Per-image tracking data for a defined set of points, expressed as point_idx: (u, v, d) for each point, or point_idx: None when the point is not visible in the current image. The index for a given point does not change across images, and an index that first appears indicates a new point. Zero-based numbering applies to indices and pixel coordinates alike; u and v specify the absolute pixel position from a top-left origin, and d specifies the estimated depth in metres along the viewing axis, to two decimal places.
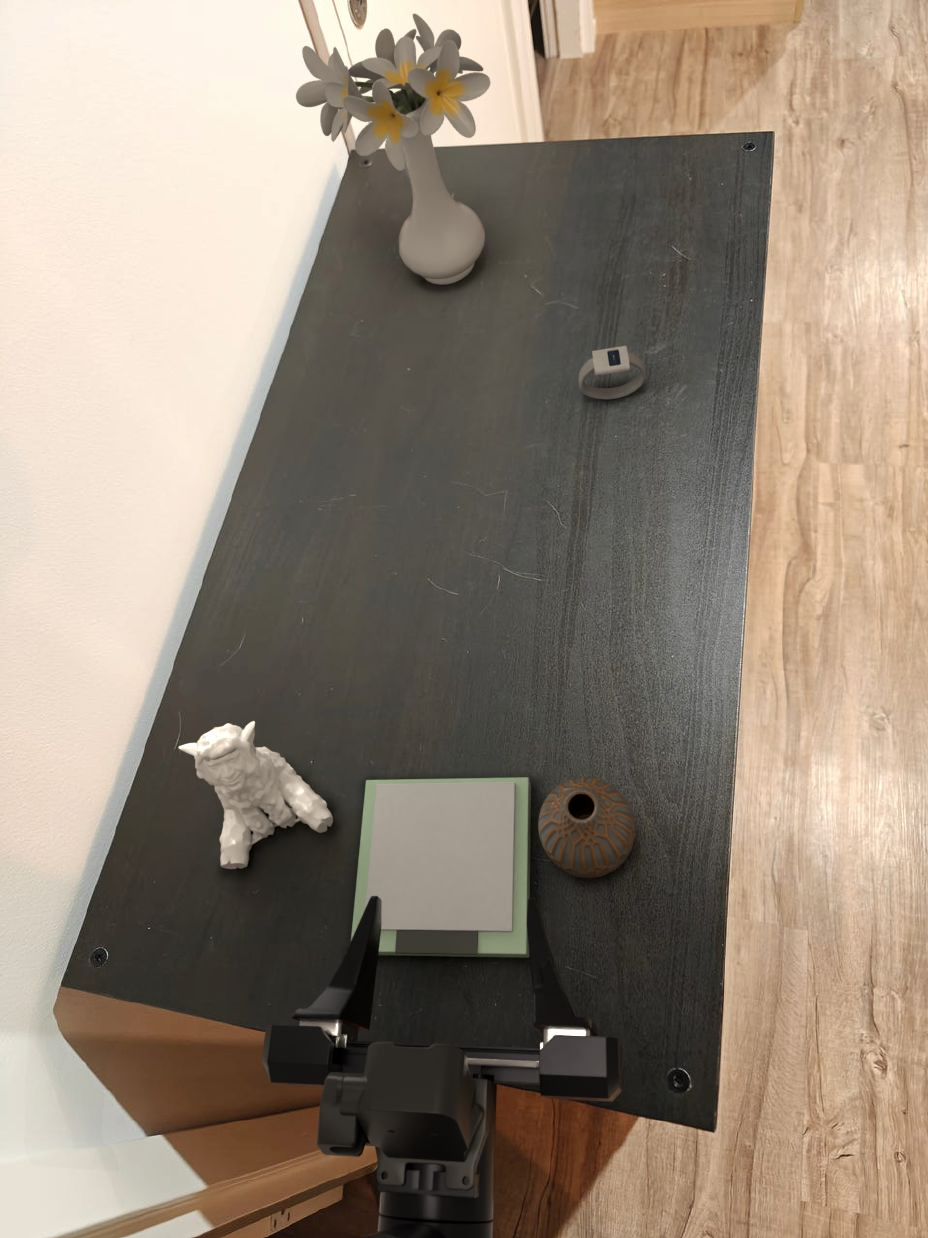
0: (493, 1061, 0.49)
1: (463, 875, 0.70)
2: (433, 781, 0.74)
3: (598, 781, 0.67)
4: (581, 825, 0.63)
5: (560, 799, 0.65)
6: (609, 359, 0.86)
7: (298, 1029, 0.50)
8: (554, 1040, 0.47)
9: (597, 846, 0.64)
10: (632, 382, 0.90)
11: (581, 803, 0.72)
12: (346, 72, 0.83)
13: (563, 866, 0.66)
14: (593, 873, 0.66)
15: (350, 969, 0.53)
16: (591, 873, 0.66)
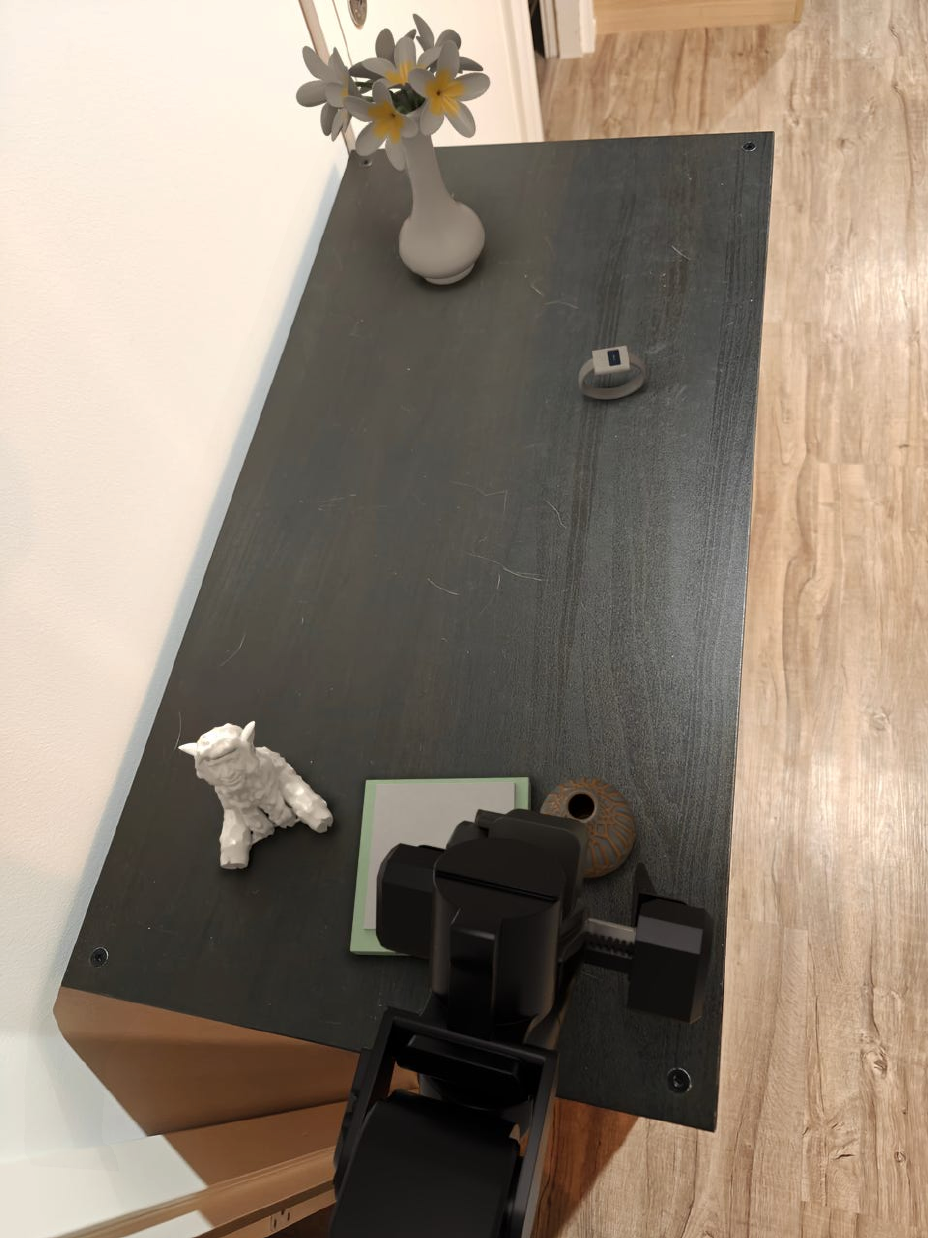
0: (591, 919, 0.52)
1: None
2: (433, 781, 0.74)
3: (598, 781, 0.67)
4: None
5: (560, 799, 0.65)
6: (609, 359, 0.86)
7: (422, 849, 0.55)
8: (657, 901, 0.51)
9: (597, 846, 0.64)
10: (632, 382, 0.90)
11: (581, 803, 0.72)
12: (346, 72, 0.83)
13: None
14: (593, 873, 0.66)
15: None
16: (591, 873, 0.66)
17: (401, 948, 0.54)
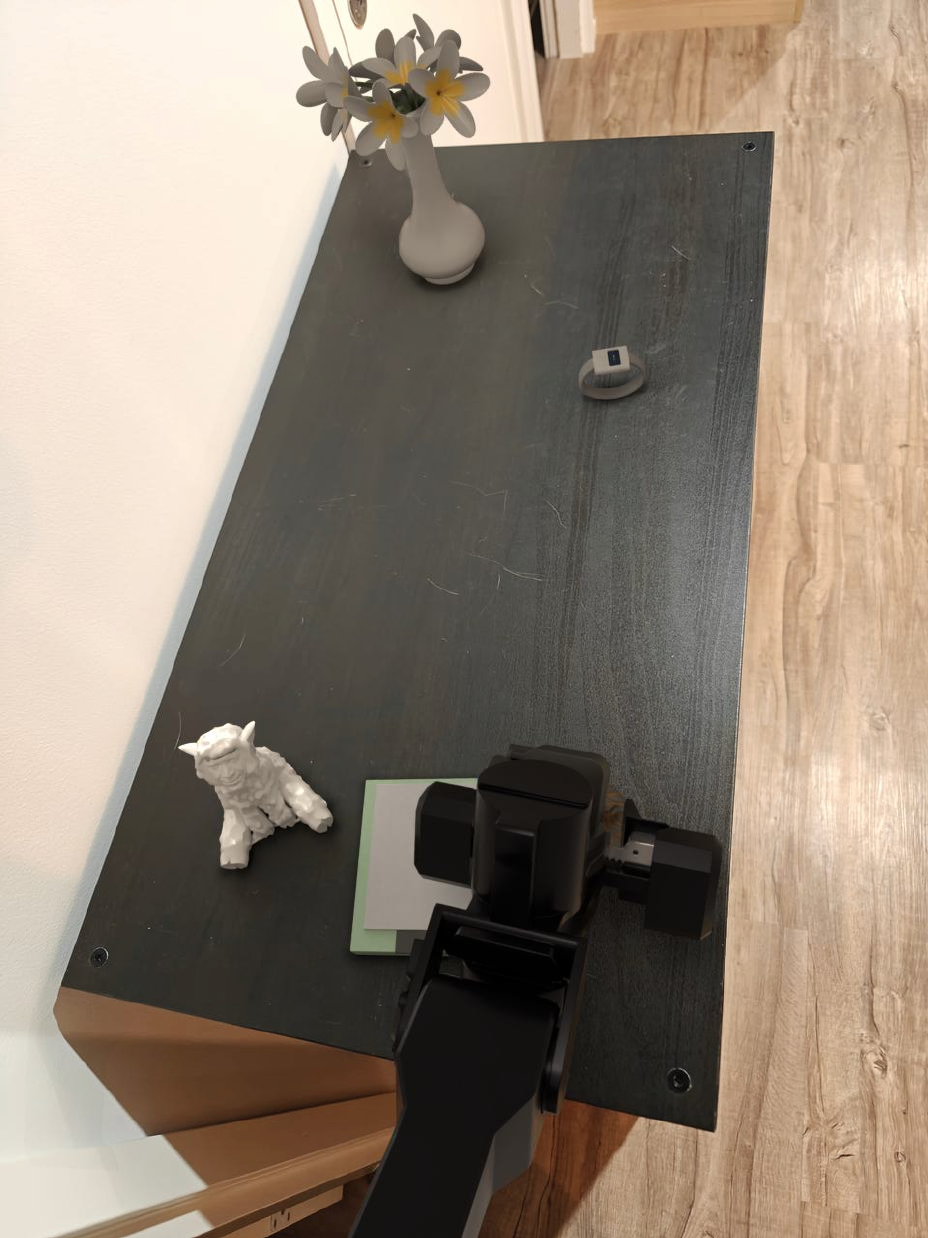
0: None
1: None
2: (433, 781, 0.74)
3: None
4: None
5: None
6: (609, 359, 0.86)
7: (456, 786, 0.60)
8: (671, 828, 0.56)
9: None
10: (632, 382, 0.90)
11: None
12: (346, 72, 0.83)
13: None
14: None
15: None
16: None
17: (437, 875, 0.60)
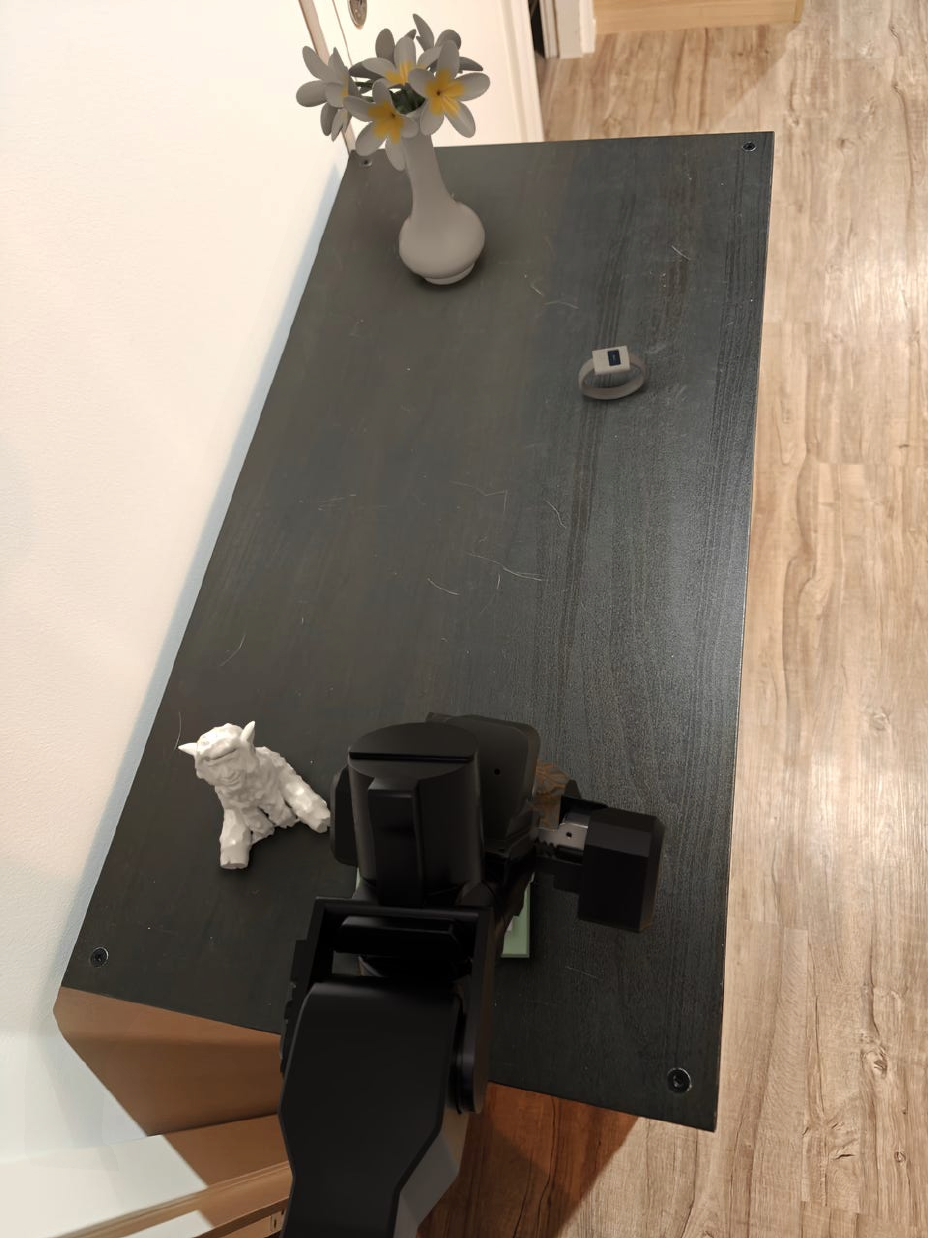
0: None
1: None
2: None
3: (540, 761, 0.61)
4: None
5: None
6: (609, 359, 0.86)
7: None
8: (608, 808, 0.51)
9: None
10: (632, 382, 0.90)
11: None
12: (346, 72, 0.83)
13: None
14: None
15: None
16: None
17: (354, 859, 0.54)
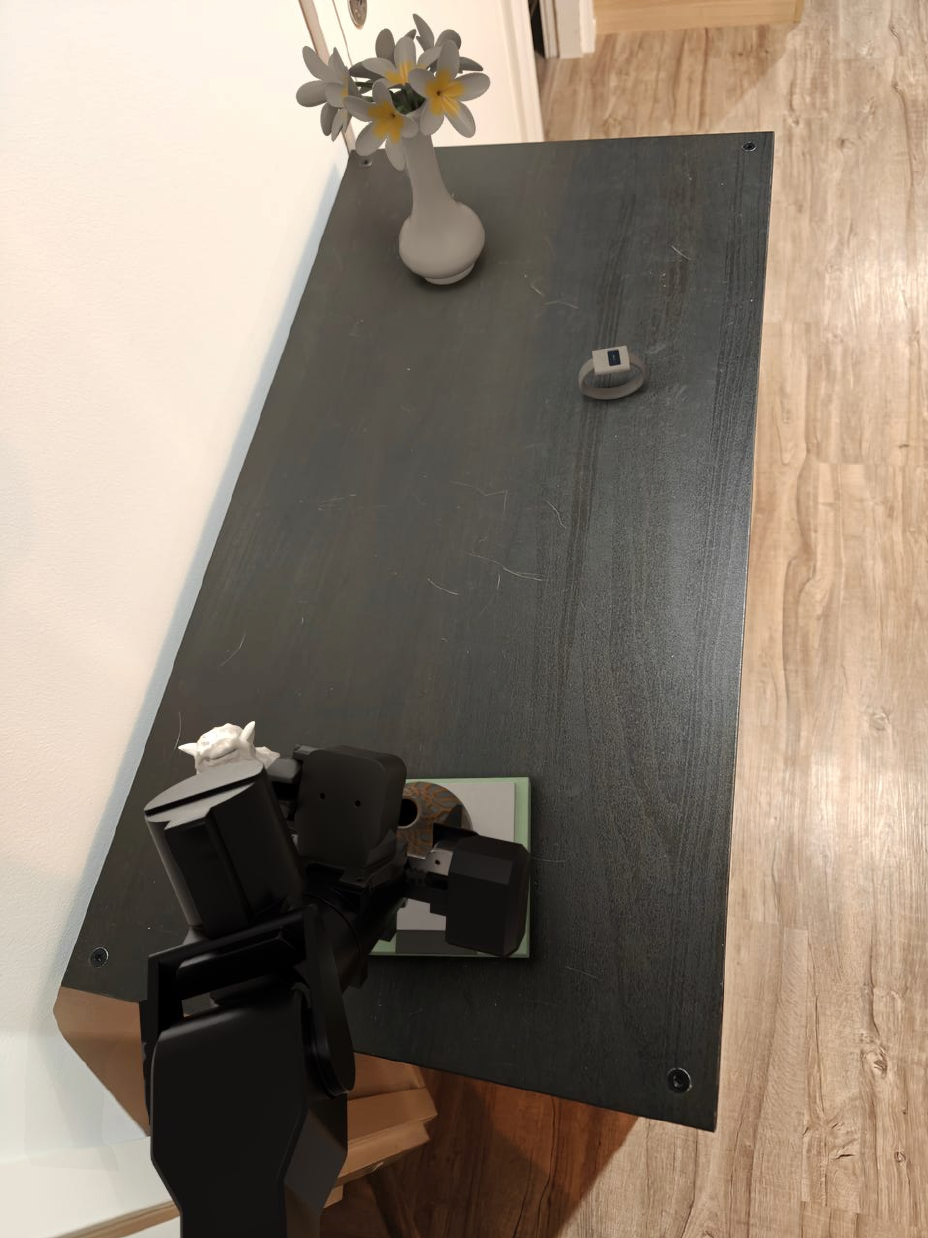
0: None
1: None
2: (433, 781, 0.74)
3: (431, 785, 0.63)
4: (402, 832, 0.59)
5: None
6: (609, 359, 0.86)
7: None
8: (476, 836, 0.52)
9: (423, 855, 0.60)
10: (632, 382, 0.90)
11: None
12: (346, 72, 0.83)
13: None
14: None
15: None
16: None
17: None
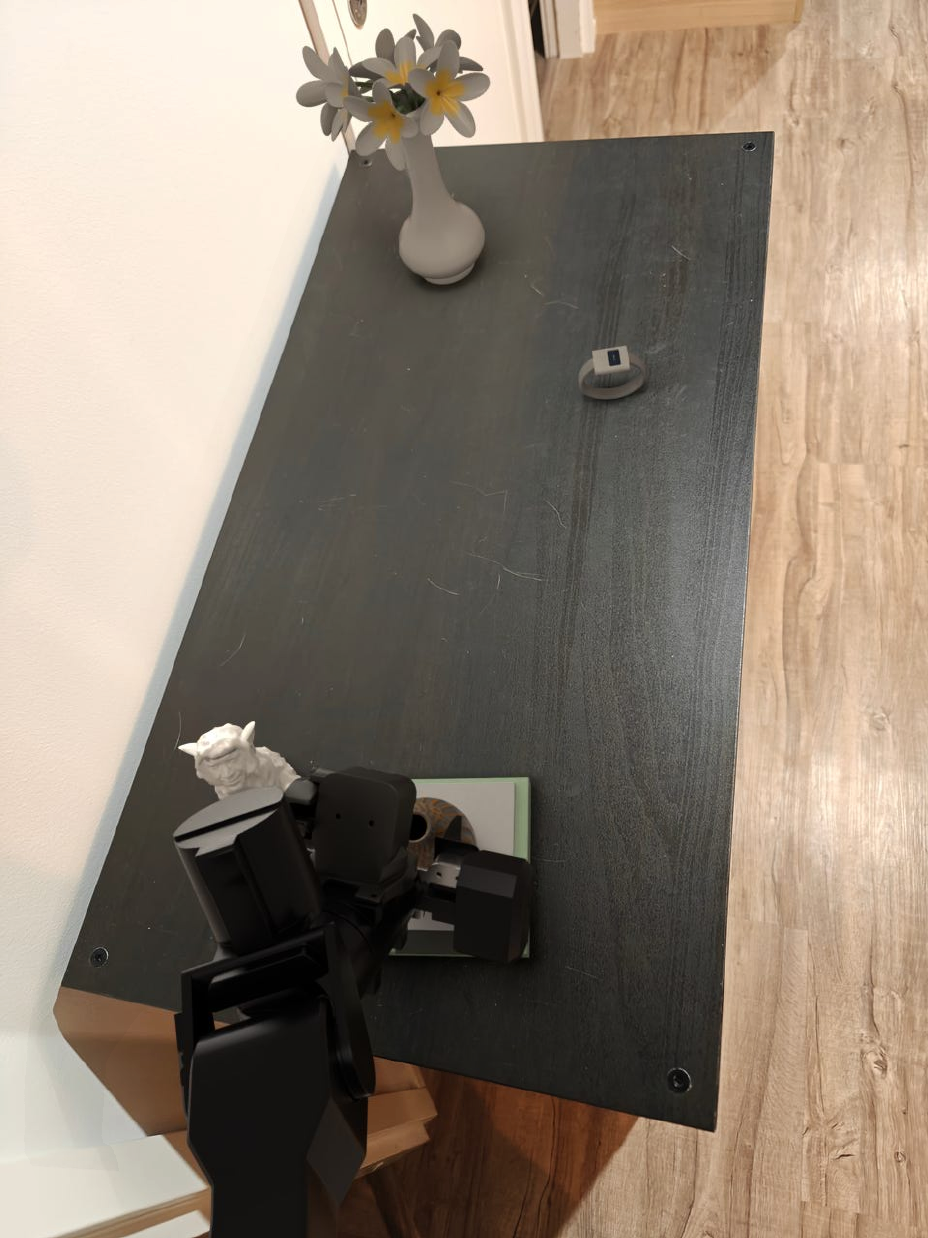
0: None
1: None
2: (433, 781, 0.74)
3: (438, 801, 0.66)
4: (413, 846, 0.63)
5: None
6: (609, 359, 0.86)
7: None
8: (482, 851, 0.56)
9: None
10: (632, 382, 0.90)
11: None
12: (346, 72, 0.83)
13: None
14: None
15: None
16: None
17: None
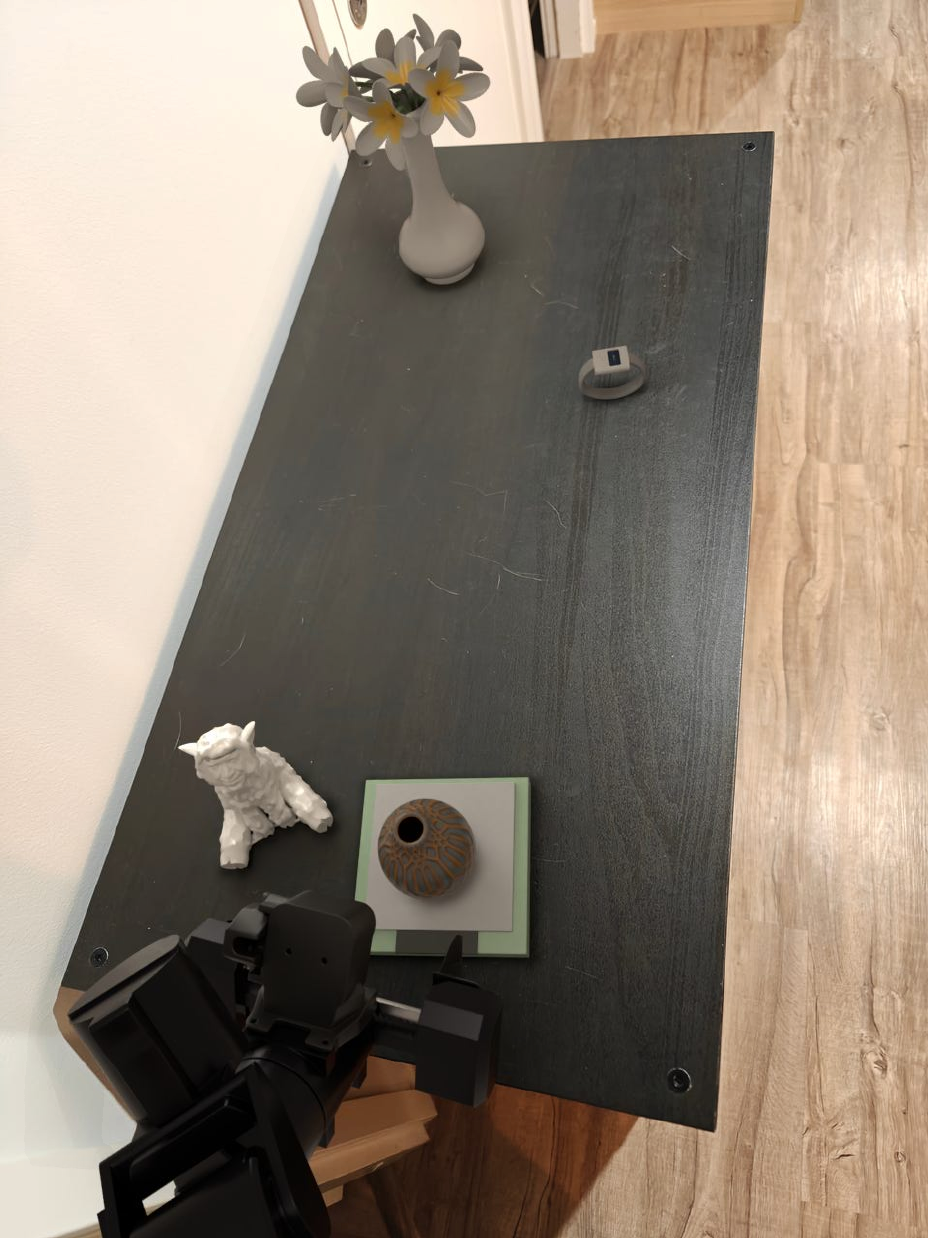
0: (383, 1000, 0.52)
1: None
2: (433, 781, 0.74)
3: (435, 803, 0.66)
4: (409, 848, 0.63)
5: (393, 822, 0.65)
6: (609, 359, 0.86)
7: (229, 925, 0.55)
8: (447, 983, 0.51)
9: (428, 869, 0.64)
10: (632, 382, 0.90)
11: None
12: (346, 72, 0.83)
13: (399, 889, 0.66)
14: (429, 896, 0.65)
15: None
16: (427, 896, 0.65)
17: None
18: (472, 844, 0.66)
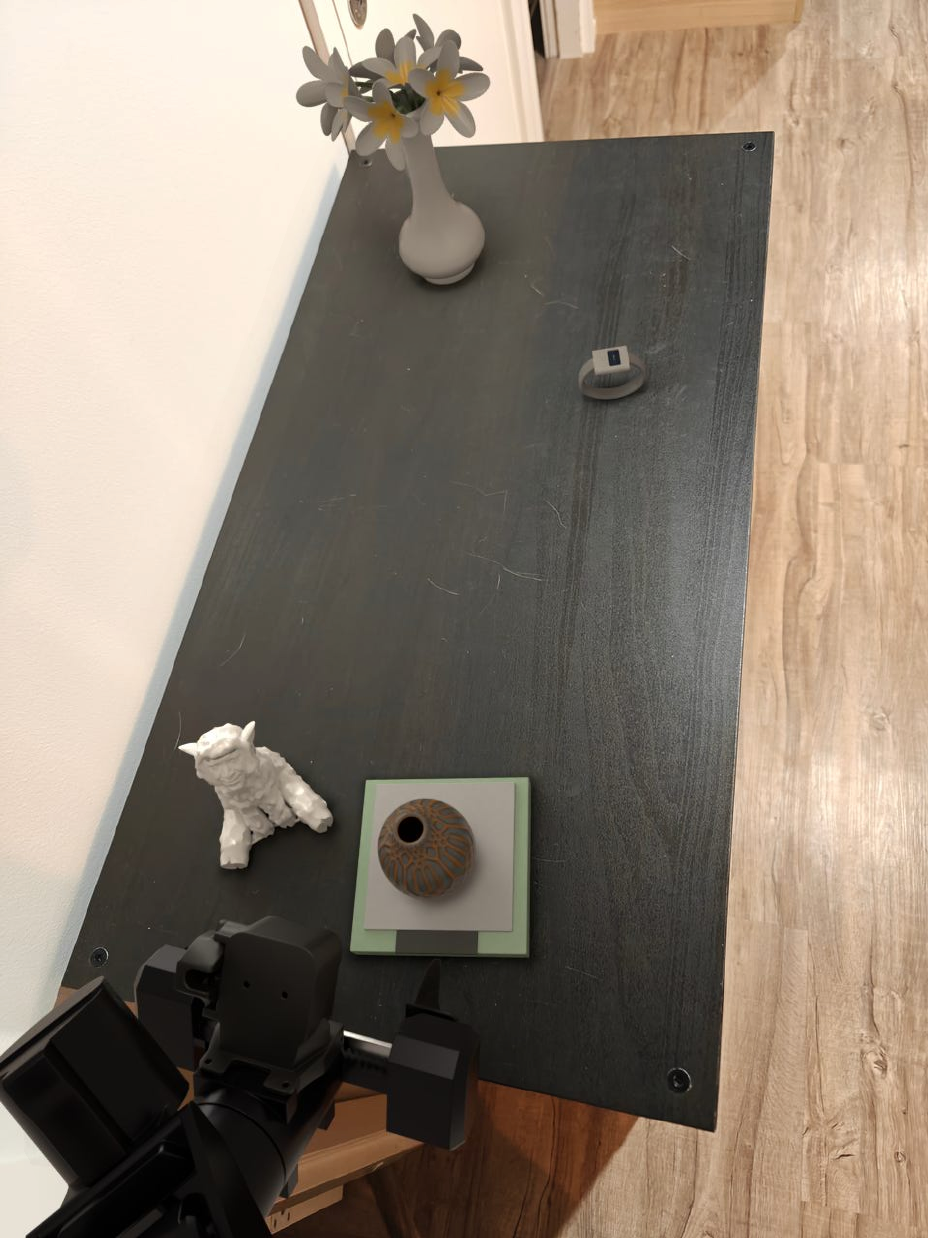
0: (352, 1034, 0.48)
1: None
2: (433, 781, 0.74)
3: (435, 803, 0.66)
4: (409, 848, 0.63)
5: (393, 822, 0.65)
6: (609, 359, 0.86)
7: None
8: (420, 1015, 0.48)
9: (428, 869, 0.64)
10: (632, 382, 0.90)
11: None
12: (346, 72, 0.83)
13: (399, 889, 0.66)
14: (429, 896, 0.65)
15: None
16: (427, 896, 0.65)
17: None
18: (472, 844, 0.66)
